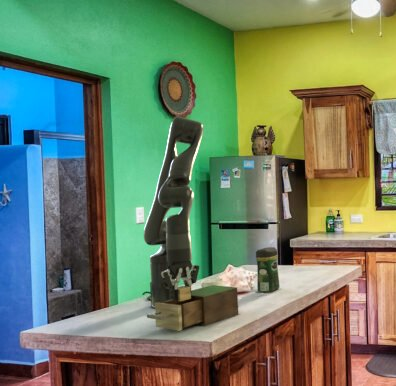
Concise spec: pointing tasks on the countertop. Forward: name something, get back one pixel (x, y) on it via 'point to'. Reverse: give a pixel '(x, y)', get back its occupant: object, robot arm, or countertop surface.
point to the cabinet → (217, 302)
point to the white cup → (212, 282)
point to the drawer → (178, 313)
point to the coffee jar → (267, 269)
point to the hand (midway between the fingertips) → (181, 298)
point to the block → (184, 293)
